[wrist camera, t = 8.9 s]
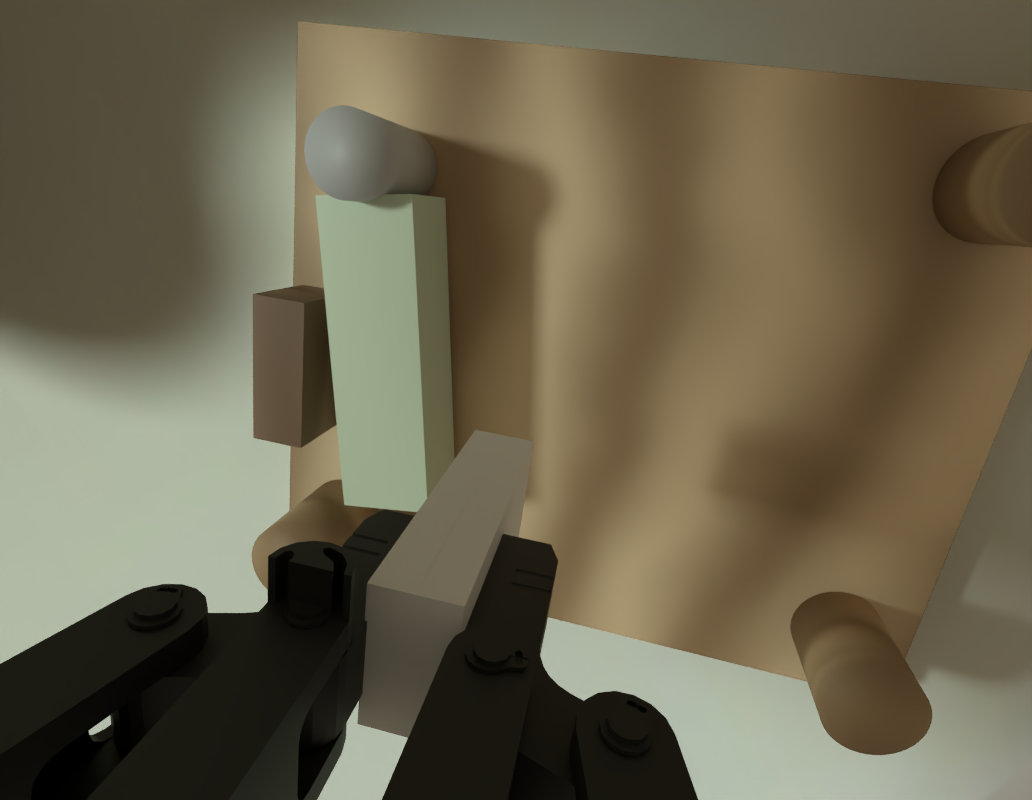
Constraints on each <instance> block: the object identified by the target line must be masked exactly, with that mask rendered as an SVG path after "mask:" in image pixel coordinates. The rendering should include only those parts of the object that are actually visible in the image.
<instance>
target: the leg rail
mask: <svg viewBox="0 0 1032 800" xmlns="http://www.w3.org/2000/svg"><path fill="white" fill-rule="evenodd" d="M304 152H305V161H306V165H307V168H308V171H309V173H310V175H311V177H312V179H313V180H314V182H315V183H316V185H317V186H318V187H319V188H320V189H321V190H322V191H323V192H325V193H326V194H327V195H315V197H316V208H317V219H318V229H319V240H320V251H321V262H322V272H323V283H324V294H325V304H326V315H327V326H328V337H329V347H330V358H331V369H332V380H333V390H334V401H335V412H336V422H337V433H338V444H339V455H340V465H341V476H342V487H343V498H344V505H349V506H359V507H369V508H380V509H390V510H400V511H410V512H418V510H419V509H420V508H421V506H422V505H423V503H424V502H425V500H426V499H427V498H428V496H429V495H430V493H431V492H432V491H433V489H434V488H435V486H436V485H437V483H438V482H439V481H440V479H441V478H442V476H443V475H444V474H445V472H446V471H447V469H448V468H449V466H450V465H451V464H452V462H453V461H454V431H453V402H452V374H451V345H450V317H449V288H448V260H447V231H446V202H445V198H442V197H434V196H425V195H426V194H427V193H428V192H429V191H430V189H431V187H432V186H433V183H434V180H435V177H436V159H435V155H434V152H433V150H432V147H431V146H430V144H429V142H428V141H427V140H426V139H425V138H424V137H423V136H422V135H421V134H419V133H418V132H416V131H414V130H412V129H409V128H407V127H404V126H402V125H399V124H397V123H394V122H391V121H389V120H386V119H384V118H381V117H379V116H376V115H373V114H371V113H368V112H366V111H363V110H361V109H358V108H355V107H352V106H347V105H339V106H334V107H330V108H328V109H326V110H324V111H323V112H321V113H320V114H319V115H318V116H317V117H316V118H315V119H314V121H313V122H312V124H311V125H310V127H309V130H308V132H307V135H306V139H305V147H304Z"/></svg>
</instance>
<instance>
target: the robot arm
mask: <svg viewBox="0 0 1032 800" xmlns="http://www.w3.org/2000/svg"><path fill="white" fill-rule="evenodd" d="M533 445H534V441H529V440H524V439H519V438H514V437H509V436H504V435H499V434H494V433H489V432H484V431H479V430H475V431H474V433H473V434H472V435H471V437H470V438H469V440H468V441H467V442H466V444H465V445H464V447H463V448H462V449H461V451H460V452H459V454H458V455H457V457H456V458H455V459H454V461H453V462H452V464H451V465H450V466H449V468H448V469H447V471H446V472H445V474H444V475H443V476H442V478H441V479H440V481H439V482H438V483H437V485H436V486H435V488H434V489H433V491H432V492H431V493H430V495H429V496H428V498H427V499H426V500H425V502H424V503H423V505H422V506H421V508H420V509H419V510H418V512H417V513H416V515H415V516H413V515H408V514H404V513H399V512H395V511H390V510H386V509H384V510H382V511H380V512H378V513H376V514H374V515H372V516H370V517H368V518H366V519H365V520H364V521H363V522H362V523H361V524H360V525H359V527H358V528H357V529H356V530H355V531H354V532H353V535H352V536H350V537H349V538H348V539H347V540H346V542H345V543H344V544H343V547H341V546H339V545H336V544H333V543H331V542H322V541H306V542H296V543H293V544H290V545H287V546H284V547H281V548H279V549H278V550H276V551H275V552H273V553H272V554H270V555H269V556H268V602H267V604H266V605H265V606H264V607H263V608H262V609H261V610H260V611H259V612H253V613H208V607H207V602H206V597H205V596H204V595H203V594H202V593H201V592H200V591H198V590H197V589H196V588H192V587H189V586H185V585H182V584H162V585H157V586H152V587H147V588H143V589H141V590H138V591H136V592H133V593H131V594H128V595H126V596H124V597H122V598H120V599H119V600H117V601H115V602H113V603H111V604H109V605H108V606H106V607H104V608H102V609H100V610H98V611H97V612H95V613H93V614H91V615H89V616H87V617H86V618H84V619H82V620H80V621H78V622H76V623H75V624H73V625H71V626H69V627H67V628H65V629H64V630H62V631H60V632H58V633H56V634H54V635H53V636H51V637H49V638H47V639H45V640H43V641H42V642H40V643H38V644H36V645H34V646H32V647H31V648H29V649H27V650H25V651H23V652H21V653H20V654H18V655H16V656H14V657H12V658H10V659H9V660H7V661H5V662H3V663H1V664H0V800H317V799H318V797H319V795H320V793H321V791H322V789H323V787H324V785H325V784H326V782H327V780H328V778H329V776H330V774H331V772H332V770H333V768H334V767H335V765H336V763H337V761H338V759H339V757H340V755H341V753H342V750H343V746H344V743H345V739H346V722H347V720H348V719H349V717H350V715H351V713H352V711H353V710H354V708H355V706H356V704H357V702H358V701H359V710H358V724H360V725H364V726H368V727H371V728H375V729H379V730H382V731H386V732H390V733H393V734H397V735H401V736H404V737H408V740H407V742H406V744H405V747H404V749H403V752H402V754H401V756H400V759H399V761H398V763H397V766H396V768H395V770H394V773H393V775H392V777H391V780H390V782H389V784H388V787H387V789H386V791H385V794H384V796H383V798H382V800H698V798H697V795H696V793H695V790H694V787H693V784H692V781H691V778H690V775H689V773H688V770H687V767H686V764H685V761H684V758H683V756H682V753H681V750H680V747H679V744H678V741H677V739H676V736H675V733H674V732H673V730H672V728H671V726H670V725H669V723H668V721H667V719H666V718H665V717H664V716H663V715H662V714H661V713H660V712H659V711H658V710H657V709H656V708H654V707H653V706H652V705H651V704H649V703H648V702H646V701H644V700H642V699H640V698H638V697H636V696H634V695H631V694H626V693H621V692H617V691H612V692H602V693H597V694H595V695H594V696H592V697H590V698H588V699H586V700H585V701H583V700H581V699H579V698H577V697H575V696H574V695H572V694H570V693H569V692H567V691H566V690H564V689H563V688H561V687H560V686H558V685H557V684H556V683H555V681H554V680H553V679H552V678H551V677H550V676H549V675H548V673H547V672H546V670H545V668H544V667H543V664H542V661H541V657H540V653H541V648H542V643H543V638H544V633H545V629H546V624H547V618H548V613H549V608H550V603H551V597H552V592H553V587H554V581H555V576H556V571H557V565H558V559H557V557H556V554H555V552H554V550H553V548H552V545H551V544H547V543H542V542H538V541H533V540H529V539H524V538H520V537H519V532H520V526H521V519H522V513H523V507H524V501H525V495H526V488H527V482H528V476H529V470H530V464H531V457H532V451H533ZM109 715H111V725H110V726H109V727H107V728H106V729H104V730H102V731H100V732H98V733H96V734H94V735H89V731H88V730H90V729H91V728H92V727H94V726H95V725H97V724H98V723H99V722H101V721H102V720H104V719H105V718H106V717H108V716H109Z"/></svg>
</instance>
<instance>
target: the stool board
mask: <svg viewBox="0 0 1032 800" xmlns="http://www.w3.org/2000/svg"><path fill="white" fill-rule="evenodd" d="M339 105H347V106H352V107H355V108H358V109H361V110H363V111H366V112H368V113H371V114H373V115H376V116H379V117H381V118H384V119H386V120H389V121H391V122H394V123H397V124H399V125H402V126H404V127H407V128H409V129H412V130H414V131H416V132H418V133H419V134H421V135H422V136H423V137H424V138H425V139H426V140H427V141H428V142H429V144H430V146H431V147H432V150H433V152H434V155H435V159H436V177H435V180H434V183H433V186H432V187H431V189H430V191H429V192H428V193H427V194H426V195H425V196H434V197H442V198H445V202H446V231H447V260H448V288H449V317H450V345H451V374H452V402H453V431H454V459H455V458H456V457H457V455H458V454H459V452H460V451H461V449H462V448H463V447H464V445H465V444H466V442H467V441H468V440H469V438H470V437H471V435H472V434H473V433H474V431H475V430H479V431H484V432H489V433H494V434H499V435H504V436H509V437H514V438H519V439H524V440H529V441H534V445H533V451H532V457H531V464H530V470H529V476H528V482H527V488H526V495H525V501H524V507H523V513H522V519H521V526H520V532H519V537H520V538H524V539H529V540H533V541H538V542H542V543H547V544H551V545H552V548H553V550H554V552H555V554H556V557H557V559H558V565H557V571H556V576H555V581H554V587H553V592H552V597H551V603H550V608H549V613H548V617H550V618H554V619H558V620H562V621H566V622H570V623H574V624H578V625H582V626H586V627H590V628H594V629H598V630H602V631H606V632H610V633H614V634H618V635H622V636H626V637H630V638H634V639H638V640H642V641H646V642H650V643H654V644H658V645H662V646H666V647H670V648H674V649H678V650H682V651H686V652H690V653H694V654H698V655H702V656H706V657H710V658H714V659H718V660H722V661H727V662H731V663H735V664H739V665H743V666H747V667H751V668H755V669H759V670H763V671H767V672H771V673H775V674H779V675H783V676H787V677H791V678H795V679H799V680H803V681H807V682H808V684H809V687H810V690H811V693H812V696H813V699H814V702H815V705H816V708H817V710H818V713H819V716H820V719H821V722H822V724H823V727H824V728H825V730H826V731H827V733H828V734H829V735H830V736H831V737H832V738H833V739H834V740H835V741H836V742H838V743H839V744H841V745H842V746H844V747H846V748H848V749H851V750H853V751H856V752H859V753H864V754H871V755H886V754H892V753H897V752H900V751H903V750H906V749H908V748H910V747H912V746H913V745H915V744H916V743H917V742H919V741H920V740H921V739H922V738H923V737H924V736H925V734H926V733H927V731H928V729H929V727H930V724H931V720H932V709H931V705H930V703H929V700H928V698H927V697H926V695H925V693H924V692H923V690H922V688H921V686H920V685H919V683H918V681H917V680H916V678H915V676H914V674H913V673H912V671H911V669H910V668H909V666H908V664H907V662H906V661H905V657H906V655H907V652H908V650H909V647H910V645H911V642H912V640H913V638H914V635H915V633H916V630H917V628H918V625H919V623H920V620H921V618H922V616H923V613H924V611H925V608H926V606H927V603H928V601H929V598H930V596H931V594H932V591H933V589H934V586H935V584H936V581H937V579H938V576H939V574H940V572H941V569H942V567H943V564H944V562H945V559H946V557H947V555H948V552H949V550H950V547H951V545H952V542H953V540H954V537H955V535H956V533H957V530H958V528H959V525H960V523H961V520H962V518H963V515H964V513H965V511H966V508H967V506H968V503H969V501H970V498H971V496H972V493H973V491H974V489H975V486H976V484H977V481H978V479H979V476H980V474H981V471H982V469H983V467H984V464H985V462H986V459H987V457H988V454H989V452H990V449H991V447H992V445H993V442H994V440H995V437H996V435H997V432H998V430H999V427H1000V425H1001V423H1002V420H1003V418H1004V415H1005V413H1006V410H1007V408H1008V405H1009V403H1010V401H1011V398H1012V396H1013V393H1014V391H1015V388H1016V386H1017V383H1018V381H1019V379H1020V376H1021V374H1022V371H1023V369H1024V366H1025V364H1026V361H1027V359H1028V357H1029V354H1030V352H1031V349H1032V91H1022V90H1012V89H1001V88H991V87H980V86H970V85H959V84H949V83H938V82H928V81H918V80H907V79H897V78H886V77H876V76H865V75H855V74H844V73H834V72H823V71H813V70H802V69H792V68H782V67H771V66H761V65H750V64H740V63H729V62H719V61H708V60H698V59H687V58H677V57H666V56H656V55H646V54H635V53H625V52H614V51H604V50H593V49H583V48H572V47H562V46H551V45H541V44H530V43H520V42H510V41H499V40H489V39H478V38H468V37H457V36H447V35H436V34H426V33H415V32H405V31H394V30H384V29H374V28H363V27H353V26H342V25H332V24H321V23H311V22H300V21H298V39H297V99H296V159H295V219H294V279H293V287H289V288H283V289H278V290H272V291H267V292H262V293H256V294H253V417H254V438H257V439H262V440H266V441H271V442H275V443H280V444H284V445H289V446H291V458H290V511H289V512H288V513H287V514H285V515H284V516H283V517H282V518H281V519H279V520H278V521H277V522H276V523H274V524H273V525H272V526H271V527H269V528H268V529H267V530H266V531H264V532H263V533H262V534H261V535H260V536H259V537H258V538H257V540H256V541H255V543H254V546H253V550H252V563H253V567H254V570H255V572H256V575H257V576H258V578H259V580H260V581H261V583H262V584H263V585H264V586H265V587H266V588H267V589H268V556H269V555H270V554H272V553H273V552H275V551H276V550H278V549H279V548H281V547H284V546H287V545H290V544H293V543H296V542H306V541H322V542H331V543H333V544H336V545H339V546H341V547H343V544H344V543H345V542H346V540H347V539H348V538H349V537H350V536H352V535H353V532H354V531H355V530H356V529H357V528H358V527H359V525H360V524H361V523H362V522H363V521H364V520H365V519H366V518H368V517H370V516H372V515H374V514H376V513H378V512H380V511H382V510H384V509H380V508H369V507H359V506H349V505H344V498H343V487H342V476H341V465H340V455H339V444H338V433H337V422H336V412H335V401H334V390H333V380H332V369H331V358H330V347H329V337H328V326H327V315H326V304H325V294H324V283H323V272H322V262H321V251H320V240H319V229H318V219H317V208H316V197H315V195H327V194H326V193H325V192H323V191H322V190H321V189H320V188H319V187H318V186H317V185H316V183H315V182H314V180H313V179H312V177H311V175H310V173H309V171H308V168H307V165H306V161H305V152H304V147H305V139H306V135H307V132H308V130H309V127H310V125H311V124H312V122H313V121H314V119H315V118H316V117H317V116H318V115H319V114H320V113H321V112H323V111H324V110H326V109H328V108H330V107H334V106H339ZM386 510H390V509H386ZM390 511H395V512H399V513H404V514H408V515H413V516H415V515H416V513H417V512H410V511H400V510H390Z"/></svg>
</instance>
